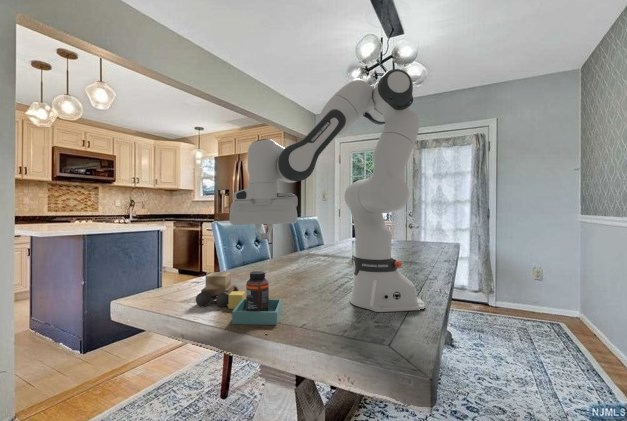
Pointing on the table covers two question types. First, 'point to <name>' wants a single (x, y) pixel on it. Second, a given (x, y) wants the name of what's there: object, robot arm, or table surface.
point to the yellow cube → (235, 298)
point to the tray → (257, 314)
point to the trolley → (216, 289)
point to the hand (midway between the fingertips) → (264, 239)
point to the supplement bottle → (257, 292)
